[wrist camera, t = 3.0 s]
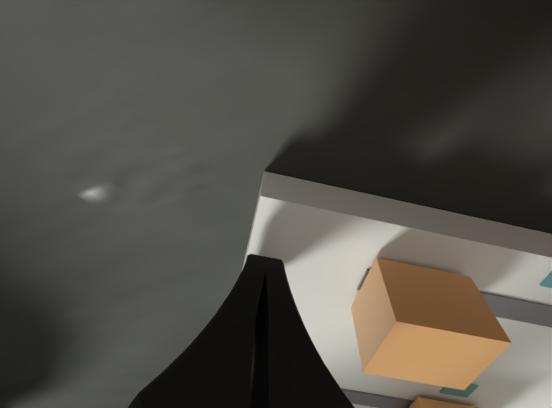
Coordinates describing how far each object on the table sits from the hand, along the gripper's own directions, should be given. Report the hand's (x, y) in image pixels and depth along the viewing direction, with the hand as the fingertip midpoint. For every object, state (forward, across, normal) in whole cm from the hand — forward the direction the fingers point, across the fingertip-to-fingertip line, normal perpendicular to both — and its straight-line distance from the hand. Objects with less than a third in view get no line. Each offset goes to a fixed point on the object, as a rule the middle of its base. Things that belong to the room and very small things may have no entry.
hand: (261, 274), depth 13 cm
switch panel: (+3, -9, +4) cm, 11 cm away
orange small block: (+1, -6, 0) cm, 6 cm away
